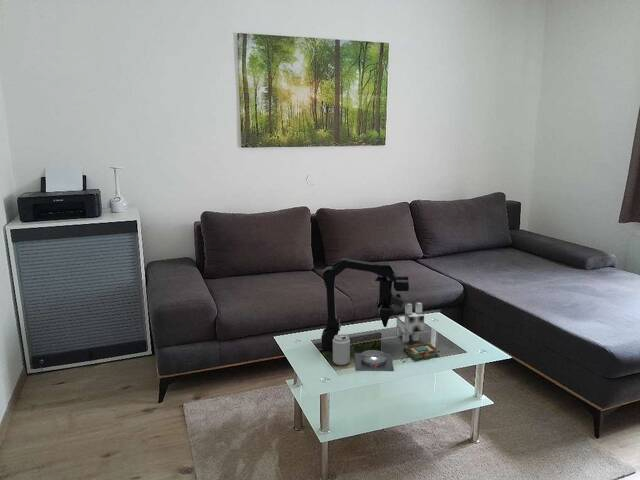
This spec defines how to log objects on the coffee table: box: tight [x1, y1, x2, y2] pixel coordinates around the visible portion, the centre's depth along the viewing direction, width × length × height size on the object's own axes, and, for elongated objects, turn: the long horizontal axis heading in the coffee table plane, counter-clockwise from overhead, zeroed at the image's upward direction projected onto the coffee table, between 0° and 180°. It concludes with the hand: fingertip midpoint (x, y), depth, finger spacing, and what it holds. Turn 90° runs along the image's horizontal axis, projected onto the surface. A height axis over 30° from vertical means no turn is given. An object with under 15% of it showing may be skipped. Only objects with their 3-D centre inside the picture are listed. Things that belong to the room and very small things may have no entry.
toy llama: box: [396, 301, 425, 344], centre depth 234 cm, size 8×18×20 cm, turn 13°
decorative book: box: [400, 342, 441, 364], centre depth 217 cm, size 13×18×5 cm
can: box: [332, 333, 351, 366], centre depth 211 cm, size 8×8×12 cm
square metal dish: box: [354, 349, 395, 372], centre depth 211 cm, size 16×15×4 cm
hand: (384, 323), depth 222 cm, fingers open, 9 cm apart
